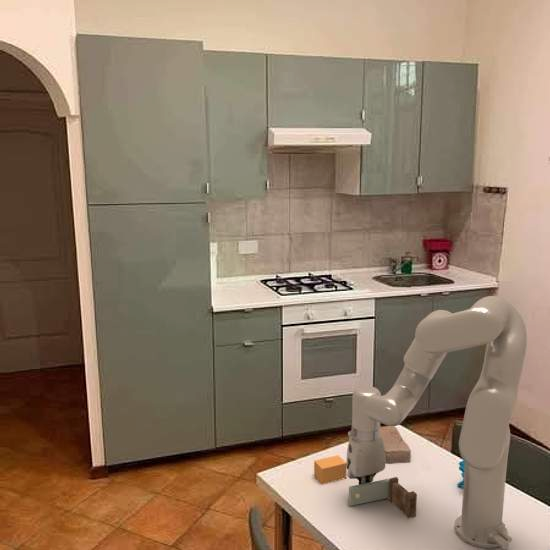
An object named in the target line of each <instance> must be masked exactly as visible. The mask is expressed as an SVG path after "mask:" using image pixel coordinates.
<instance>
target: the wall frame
mask: <svg viewBox="0 0 550 550" xmlns="http://www.w3.org/2000/svg"><path fill="white" fill-rule="evenodd" d="M388 479H389V498H388V501H389V502H390V503H392V504H394V506H396V507H397V508H398V509H399V510H400V511H401V512H402V513H403V514H404V516H405V517H406V518H407V519H411V518H415V517H416V516H417V496H418V494H417V493H416V492H415V491H413V490H412V491H408V490H407V489H406V488H405V487H404V486H403V485H401V484H400V483H399V477H397V476H393V477H391V478H388Z"/></svg>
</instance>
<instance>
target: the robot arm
mask: <svg viewBox="0 0 550 550" xmlns="http://www.w3.org/2000/svg"><path fill="white" fill-rule="evenodd" d="M525 324H526V323H525V321H524V319H523V316H522V315H521V314H520V312H519V310H518V309H517V308H516V307H515V305H513V304H512V303H511V302H509V301H508V300H506V299H505V298H502V297H500V296H497V295H488V296H484V297H482V298H480V299H478V300H477V301H476V302H475V303H474V304H473V305H472V306H471V307H470V308H469V309H465V310H461V311H457V312H454V313H452V312H450V311H448V310H444V309H438V310H437V309H436V310H434V311H432V312H430V313H429V314H428V315H426V317H424V318H422V320H421V321H420V322H419V323H418V325H417V326H416V328H415V333H414V334H415V335H414V339H412V342H411V344H410V346H409V348H407V351H406V353H404V356H403V363H404V366H403V368H402V370H401V372H400V374H399V375H398V377H397V379H396V381H395V382H394V384H393V386H392V387H391V389H389V390H388V392H386V393H385V394H384V395H382V394H381V391H380V390H379V389H378V388H377V387H375V386H370V385H361V386H358V387H356V388H355V389H354V390H353V391H352V400H351V401H352V403H351V404H352V410H351V411H352V413H351V430H349V431H348V432H347V435H348V437H349V439H348V445H347V451H346V461H345V462H346V470H347V472H346V477H347V478H349V479H350V480H352V479H353V480H357V481H358V485H359V484H364V483H369V482H374V478H375V477H376V475H377V474H379V473H380V472H383V471H384V470H385V469H386V462H385V446H384V441H383V436H382V435H381V434H380V427H381V424H383V425H385V426H395V427H397V426H398V425H401V424H402V422H403V421H404V420H405V419H406V418H407V416H408V415H409V414H410V412H412V410H413V409H414V408H415V406H416V405H417V403H418V401H419V400H420V398H421V396H422V395H423V393H424V392H425V389H426V388H427V386H428V384H429V383H430V381H431V380H432V379H433V378H434V375H435V374H436V373H437V371H438V369H439V367H440V366H441V364H442V362H443V361H444V359H445V357H446V356H447V355H448V353H452V352H457V351H460V350H464V349H465V350H466V349H470V348H475V347H480V346H483V345H484V346H485V345H486V350H485V352H484V358H483V359H484V360H483V363H482V368H481V372H480V376H479V379H478V381H477V382H476V384H475V385H474V387H473V388H472V390H471V392H470V394H469V396H468V399H467V402H466V406H465V411H464V417H463V420H462V425H461V430H460V434H459V440H458V450H459V454H460V456H461V458H462V461H463V460H464V461H465V472H464V485H463V488H462V489H463V490H462V491H463V492H462V506H461V507H462V508H461V515H459V516H458V517H456V519H455V521H454V531H455V533H456V534H457V536H458V538H459V537H460V539H462V540H463V541H464V542H466V543H468V544H470V545H472V546H475V547H479V548H484V549H494V548H499V547H500V548H501V549H503V550H506V549H507V548H508V547H509V543H511V542H512V541H513V537H512V536H510V535H509V533H508V530H507V527H506V524H505V523H504V522H503V516H504V503H505V489H506V481H507V480H506V479H507V477H506V476H507V468H508V467H507V466H508V456H509V449H510V445H511V444H510V443H511V430H510V422H511V420H512V419H511V418H512V415H513V412H514V410H515V407H516V403H517V402H518V396H519V395H518V393H519V388H520V387H519V386H520V381H521V378H522V377H521V376H522V374H523V367H524V362H525V358H526V351H527V346H528V345H527V341H528V339H527V338H528V333H527V327H526V325H525Z"/></svg>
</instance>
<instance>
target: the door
mask: <svg viewBox="0 0 550 550" xmlns="http://www.w3.org/2000/svg"><path fill="white" fill-rule="evenodd" d="M389 479H390V478H386V479H379V480H373V481H372V482H369V483H364V484H359V483H358V484H355V485H350V486H348V504H349V506H356V505H360V504H366V503H370V502H374V501H379V500H384V499H389Z"/></svg>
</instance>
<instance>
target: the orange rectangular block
mask: <svg viewBox="0 0 550 550" xmlns="http://www.w3.org/2000/svg"><path fill="white" fill-rule="evenodd" d="M313 461H314V462H313V464H314V465H313V466H314V467H313V476H314V475H315V476H314V477H315V479H316V480H318V482H319V481H320V482H321V483H322V484H321V483H320V482H319V483H320V484H321V485H324V483H325V484H329V483H332V482H331V481H333V482H335V481H334V480H337V481H340V480H339V479H341V480H343V479H342V478H345V479H347V465H346V461H345V460H344V459H343V458H342V457H341V456H339V455H333V456H328V457H324V458H320V459H317V460H313ZM328 482H329V483H328Z"/></svg>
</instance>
